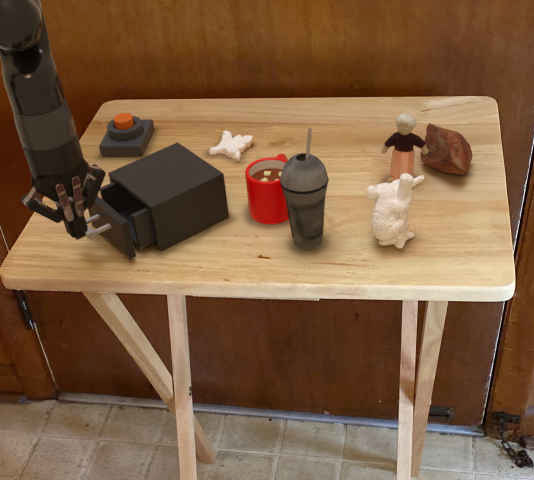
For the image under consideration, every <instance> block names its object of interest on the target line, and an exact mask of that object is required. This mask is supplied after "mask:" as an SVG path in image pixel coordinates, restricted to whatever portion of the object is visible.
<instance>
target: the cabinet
mask: <svg viewBox="0 0 534 480" xmlns="http://www.w3.org/2000/svg"><path fill="white" fill-rule="evenodd" d="M107 174H108V178H109V182H110V183H112V182H114V181H115V182H116V183H118V184H119V185H120V186H121V187H123V188H124V189H125V190H126V191H128V192H129V193H130V194H131V195H133V196H134V197H135V198H136V199H137V200H139V201H140V202H141V203H142V204H144V205H145V206H146V207H147V208H149V209H150V213H151V218H152V223H153V227H154V232H155V237H156V242H154V243H152V244H151V245H152V246H153V247H154V248H156V249H157V250H158V251H159V252H163V251H165V250H167V249H169V248H171V247H173V246H175V245H177V244H180V243H181V242H183V241H185V240H187V239H189V238H191V237H192V236H195V235H197V234H199V233H200V232H202V231H205V230H207V229H210V228H211V227H213V226H215V225H216V224H219V223H221V222H223V221H225V220H227V219H229V218H230V214H229V213H230V212H229V205H228V197H227V190H226V182H225V176H224V175H225V174H224V172H222V171H221V170H220V169H218V168H216V167H215V166H213V165H212V164H210V163H209V162H208V161H206V160H205V159H203V158H202V157H200V156H199V155H197V154H195V153H194V152H193V151H191V150H189V148H187V147H186V146H184V145H182V144H181V143H180V142H175V143H172V144H171V145H168V146H166V147H163V148H162V149H159V150H157V151H154V152H152V153H150V154H147V155H145V156H142V157H140V158H138V159H136V160H134V161H132V162H129V163H127V164H125V165H123V166H120V167H118V168H116V169H114V170H112V171H109V172H108V173H107Z"/></svg>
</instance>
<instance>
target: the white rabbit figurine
mask: <svg viewBox="0 0 534 480" xmlns="http://www.w3.org/2000/svg"><path fill="white" fill-rule="evenodd" d="M424 180H425V175H424V174H421V175H418V176H417V177H415V178H414V176H411V175H410V174H407V173H404V174H402V175H401V176H400V180H399V179H397V180H395V181H393V182H392V183H387V182H382V183H381V182H380V183H378V184H376V185H373V184H372V185H368V187H367V189H366V192H365V193H366V198H367V200H368V201H372V200H374V206H373V207H372V208H373V209H372V213H371V218H370V231H371V234H372V235H373V237H374V238H376V239H377V240H378V244H379V245H380V246H391V245H394V247H395V248H397V249H399V250H400V249H403V248H404V247H405V244H406V242H407V241H408V240H411V239H412V238H415V236H416V234H415V233H414V232H413V231H409V230H408V229H409V226H410V224H409V220H408V219H409V218H408V212H409V210H408V209H409V208H410V206H411V204H412V202H413V198H414V190H413V188H414V187H416V186H417V185H418V184H420V183H422V181H424Z"/></svg>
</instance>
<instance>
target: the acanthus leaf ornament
mask: <svg viewBox="0 0 534 480" xmlns="http://www.w3.org/2000/svg"><path fill="white" fill-rule="evenodd" d="M253 140H254V136H253V135H252V134H251V135H248V134H245V135H243V136H242V135H241V134H237V135H235V136H233V134H232V132H231V131H229V130H223V131H222V135H221V140H220V142H219V143H218V145H216V146H211V147H210V148H209V149H208V150H209V151H208V154H209V155H210V156H214V155H217V154H222V155H225V156H226V157H227V158H228V159H229V158H230V159H233V160H235V161H236V162H240V160H241V158H242V153H244V152H245V149H248V148H250V147H251V146H252V143H253Z"/></svg>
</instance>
